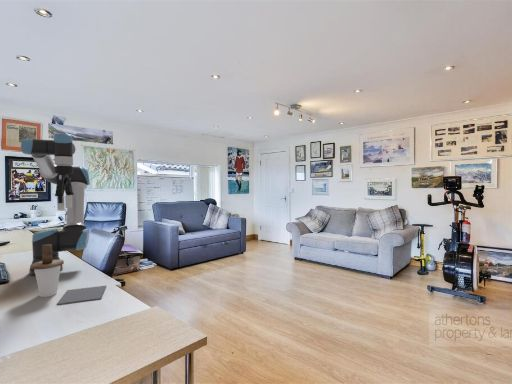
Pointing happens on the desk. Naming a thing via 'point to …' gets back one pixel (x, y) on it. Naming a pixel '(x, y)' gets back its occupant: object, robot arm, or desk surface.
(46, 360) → the desk surface
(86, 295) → the mat
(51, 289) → the foam cup
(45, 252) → the lid
